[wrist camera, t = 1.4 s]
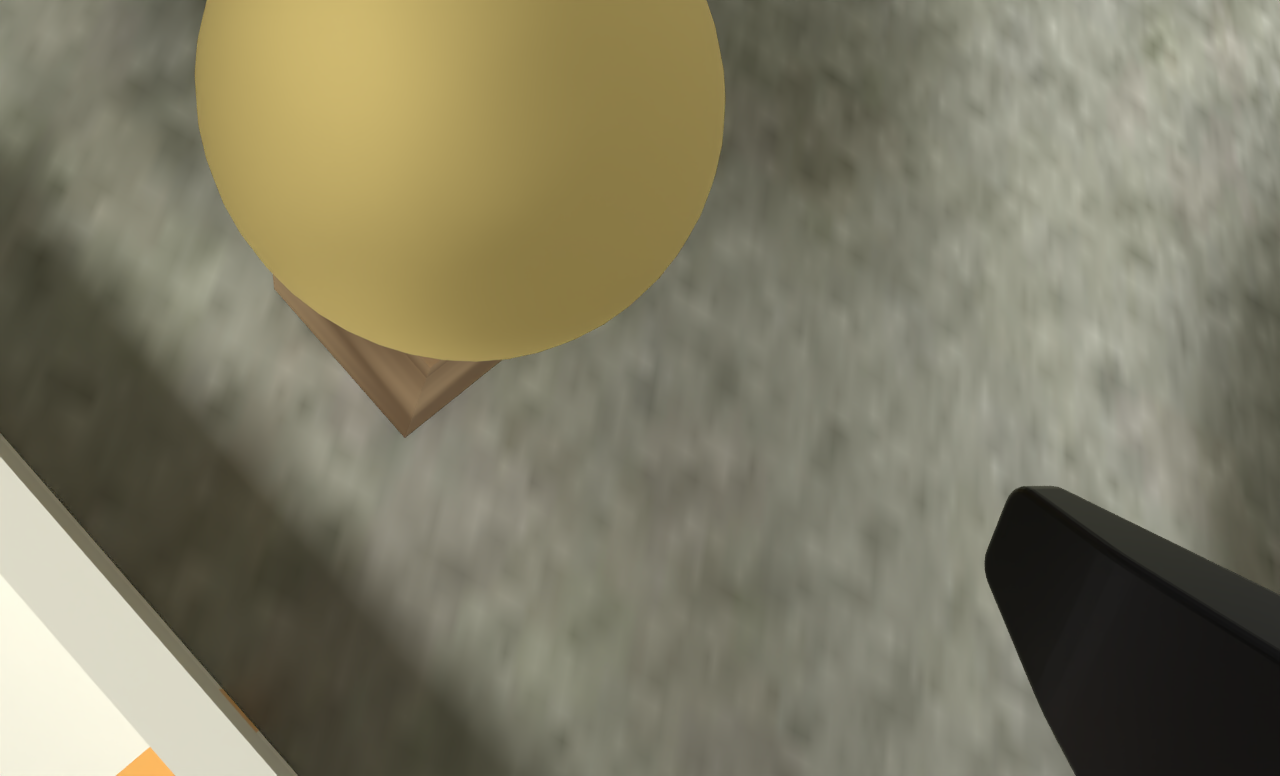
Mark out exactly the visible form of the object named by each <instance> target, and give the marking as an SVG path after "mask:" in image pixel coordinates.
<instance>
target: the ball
mask: <svg viewBox="0 0 1280 776" xmlns="http://www.w3.org/2000/svg"><path fill="white" fill-rule="evenodd" d="M195 87H196V101H197V114H198V126H199V130H200V134H201V138H202V143H203V147H204V151H205V155H206V159H207V162H208V165H209V167H210V170H211V173H212V175H213V178H214V180H215V183H216V186H217V188H218V191H219V193H220V196H221V198H222V201H223V203H224V205H225V207H226V209H227V210H228V212H229V214H230V216H231V218H232V219H233V221H234V223H235V225H236V226H237V228H238V230H239V232H240V233H241V235H242V236H243V237H244V239H245V240H246V241H247V243H248V244H249V245H250V246H251V248H252V249H253V250H254V252H255V253H256V254H257V256H258V257H259V258H260V260H261V261H262V262H263V263H264V265H265V266H266V267H267V268H268V269H269V270H270V271H271V272H272V273H273V274H274V276H275V277H276V278H277V279H278V280H279V281H280V282H281V283H282V284H283V285H284V286H285V287H286V288H287V289H288V290H289V291H290V292H291V293H292V294H294V295H295V296H296V297H298V298H299V299H300V300H301V301H303V302H304V303H305V304H307V305H308V306H309V307H311V308H312V309H313V310H314V311H316V312H317V313H318V314H320V315H321V316H323V317H325V318H326V319H328V320H330V321H331V322H333V323H335V324H337V325H338V326H340V327H342V328H343V329H345V330H347V331H348V332H351V333H353V334H355V335H358V336H360V337H362V338H364V339H367V340H369V341H371V342H374V343H376V344H378V345H381V346H384V347H388V348H391V349H394V350H398V351H401V352H404V353H408V354H411V355H417V356H423V357H428V358H434V359H440V360H452V361H474V362H477V361H490V360H502V359H510V358H515V357H520V356H525V355H529V354H534V353H539V352H541V351H544V350H547V349H550V348H553V347H555V346H558V345H561V344H564V343H567V342H569V341H572V340H574V339H577V338H578V337H580V336H582V335H584V334H586V333H588V332H590V331H592V330H594V329H596V328H598V327H600V326H602V325H604V324H605V323H606V322H608V321H609V320H611V319H612V318H613V317H615V316H616V315H618V314H619V313H620V312H622V311H623V310H625V309H626V308H628V307H629V306H630V305H631V304H632V303H633V302H634V301H635V300H637V299H638V298H639V297H640V296H641V295H642V294H643V293H644V292H645V291H646V290H647V289H648V288H649V287H650V286H651V285H652V284H653V283H654V282H656V281H657V280H658V279H659V278H660V276H661V275H662V274H663V273H664V271H665V270H666V269H667V268H668V266H669V265H670V264H671V262H672V261H673V260H674V259H675V257H676V256H677V255H678V253H679V252H680V250H681V248H682V247H683V245H684V244H685V242H686V240H687V239H688V237H689V235H690V233H691V232H692V230H693V228H694V226H695V224H696V223H697V221H698V219H699V217H700V216H701V213H702V210H703V208H704V205H705V203H706V200H707V197H708V195H709V192H710V189H711V186H712V183H713V180H714V177H715V174H716V170H717V166H718V161H719V157H720V152H721V148H722V141H723V128H724V114H725V83H724V69H723V64H722V59H721V53H720V48H719V43H718V38H717V33H716V28H715V24H714V21H713V18H712V15H711V12H710V9H709V6H708V3H707V0H207V2H206V6H205V10H204V14H203V18H202V22H201V27H200V31H199V36H198V41H197V51H196V64H195Z"/></svg>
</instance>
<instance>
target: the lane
mask: <svg viewBox="0 0 1280 776" xmlns="http://www.w3.org/2000/svg"><path fill="white" fill-rule="evenodd" d="M0 776H298V775H297V774H296V773H295V771H294V770H293V769H292V768H291V767H290V766H289V765H288V763H287V762H286V761H285V760H284V759H283V758H282V757H281V755H280V754H279V753H278V752H277V751H276V750H275V748H274V747H273V746H272V745H271V744H270V743H269V742H268V740H267V739H266V738H265V737H264V736H263V735H262V734H261V732H260V731H259V730H258V729H257V728H256V727H255V725H254V724H253V723H252V722H251V721H250V720H249V719H248V717H247V716H246V715H245V714H244V713H243V712H242V711H241V709H240V708H239V707H238V706H237V705H236V704H235V702H234V701H233V700H232V699H231V698H230V697H229V696H228V694H227V693H226V692H225V691H224V690H223V689H222V688H221V686H220V685H219V684H218V683H217V682H216V681H215V679H214V678H213V677H212V676H211V675H210V674H209V673H208V671H207V670H206V669H205V668H204V667H203V666H202V665H201V663H200V662H199V661H198V660H197V659H196V658H195V656H194V655H193V654H192V653H191V652H190V651H189V650H188V648H187V647H186V646H185V645H184V644H183V643H182V642H181V640H180V639H179V638H178V637H177V636H176V635H175V633H174V632H173V631H172V630H171V629H170V628H169V627H168V625H167V624H166V623H165V622H164V621H163V620H162V618H161V617H160V616H159V615H158V614H157V613H156V612H155V610H154V609H153V608H152V607H151V606H150V605H149V604H148V602H147V601H146V600H145V599H144V598H143V597H142V595H141V594H140V593H139V592H138V591H137V590H136V589H135V587H134V586H133V585H132V584H131V583H130V582H129V581H128V579H127V578H126V577H125V576H124V575H123V574H122V572H121V571H120V570H119V569H118V568H117V567H116V566H115V564H114V563H113V562H112V561H111V560H110V559H109V558H108V556H107V555H106V554H105V553H104V552H103V551H102V549H101V548H100V547H99V546H98V545H97V544H96V543H95V541H94V540H93V539H92V538H91V537H90V536H89V535H88V533H87V532H86V531H85V530H84V529H83V528H82V526H81V525H80V524H79V523H78V522H77V521H76V520H75V518H74V517H73V516H72V515H71V514H70V513H69V512H68V510H67V509H66V508H65V507H64V506H63V505H62V503H61V502H60V501H59V500H58V499H57V498H56V497H55V495H54V494H53V493H52V492H51V491H50V490H49V489H48V487H47V486H46V485H45V484H44V483H43V482H42V480H41V479H40V478H39V477H38V476H37V475H36V474H35V472H34V471H33V470H32V469H31V468H30V467H29V465H28V464H27V463H26V462H25V461H24V460H23V459H22V457H21V456H20V455H19V454H18V453H17V452H16V451H15V449H14V448H13V447H12V446H11V445H10V444H9V442H8V441H7V440H6V439H5V438H4V437H3V436H2V434H1V433H0Z"/></svg>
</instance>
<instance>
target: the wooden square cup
mask: <svg viewBox="0 0 1280 776" xmlns="http://www.w3.org/2000/svg"><path fill="white" fill-rule="evenodd" d="M273 280H274V289H275V290H276V291H277V292H278V293H279V295H280V296H281V297H282V298H283V299H284V300H285V301H286V303H287V304H288V305H289V306H290V307H291V308H292V309H293V311H294V312H295V313H296V314H297V315H298V316H299V317H300V319H301V320H302V321H303V322H304V323H305V324H306V325H307V327H308V328H309V329H310V330H311V331H312V332H313V333H314V335H315V336H316V337H317V338H318V339H319V340H320V341H321V343H322V344H323V345H324V346H325V347H326V348H327V350H328V351H329V352H330V353H331V354H332V355H333V356H334V358H335V359H336V360H337V361H338V362H339V363H340V364H341V366H342V367H343V368H344V369H345V370H346V371H347V372H348V374H349V375H350V376H351V377H352V378H353V379H354V380H355V382H356V383H357V384H358V385H359V386H360V387H361V388H362V390H363V391H364V392H365V393H366V394H367V395H368V396H369V398H370V399H371V400H372V401H373V402H374V403H375V404H376V406H377V407H378V408H379V409H380V410H381V411H382V412H383V414H384V415H385V416H386V417H387V418H388V419H389V420H390V422H391V423H392V424H393V425H394V426H395V427H396V428H397V430H398V431H399V432H400V433H401V434H402V435H403V436H404V438H405V437H407V436H408V435H409V434H410V433H412V432H413V431H414V430H415V429H417V428H418V427H419V426H420V425H421V424H423V423H424V422H425V421H426V420H428V419H429V418H430V417H431V416H433V415H434V414H435V413H436V412H438V411H439V410H440V409H441V408H443V407H444V406H445V405H446V404H448V403H449V402H450V401H451V400H453V399H454V398H455V397H456V396H458V395H459V394H460V393H461V392H463V391H464V390H465V389H466V388H468V387H469V386H470V385H471V384H473V383H474V382H475V381H476V380H478V379H479V378H480V377H481V376H483V375H484V374H485V373H486V372H488V371H489V370H490V369H491V368H493V367H494V366H495V365H496V364H498V363H499V362H500V361H501V360H490V361H477V362H474V361H452V360H440V359H434V358H428V357H423V356H417V355H411V354H408V353H404V352H401V351H398V350H394V349H391V348H388V347H384V346H381V345H378V344H376V343H374V342H371V341H369V340H367V339H364V338H362V337H360V336H358V335H355V334H353V333H351V332H348V331H347V330H345V329H343V328H342V327H340V326H338V325H337V324H335V323H333V322H331V321H330V320H328V319H326V318H325V317H323V316H321V315H320V314H318V313H317V312H316V311H314V310H313V309H312V308H311V307H309V306H308V305H307V304H305V303H304V302H303V301H301V300H300V299H299V298H298V297H296V296H295V295H294V294H292V293H291V292H290V291H289V290H288V289H287V288H286V287H285V286H284V285H283V284H282V283H281V282H280V281H279V280H278V279H277V278H276V277H275V276H274V274H273ZM502 360H503V359H502Z"/></svg>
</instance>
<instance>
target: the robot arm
mask: <svg viewBox="0 0 1280 776" xmlns="http://www.w3.org/2000/svg"><path fill="white" fill-rule="evenodd" d="M985 573H986V578H987V581H988V584H989V586H990V588H991V591H992V593H993V596H994V598H995V600H996V603H997V605H998V608H999V610H1000V612H1001V615H1002V617H1003V620H1004V622H1005V624H1006V627H1007V629H1008V632H1009V634H1010V636H1011V639H1012V641H1013V644H1014V646H1015V648H1016V651H1017V653H1018V656H1019V658H1020V660H1021V663H1022V665H1023V668H1024V670H1025V672H1026V675H1027V677H1028V680H1029V682H1030V684H1031V687H1032V689H1033V692H1034V694H1035V696H1036V698H1037V701H1038V703H1039V705H1040V707H1041V710H1042V712H1043V714H1044V716H1045V718H1046V720H1047V722H1048V724H1049V726H1050V728H1051V730H1052V732H1053V734H1054V736H1055V738H1056V740H1057V742H1058V744H1059V745H1060V747H1061V749H1062V751H1063V753H1064V755H1065V757H1066V758H1067V760H1068V762H1069V764H1070V766H1071V768H1072V770H1073V772H1074V773H1075V775H1076V776H1280V595H1279V594H1277V593H1275V592H1272V591H1270V590H1268V589H1266V588H1264V587H1262V586H1260V585H1258V584H1256V583H1254V582H1252V581H1250V580H1248V579H1246V578H1244V577H1242V576H1240V575H1238V574H1236V573H1234V572H1232V571H1230V570H1228V569H1226V568H1223V567H1221V566H1219V565H1217V564H1215V563H1213V562H1211V561H1209V560H1207V559H1205V558H1203V557H1201V556H1199V555H1197V554H1195V553H1193V552H1191V551H1189V550H1187V549H1185V548H1183V547H1181V546H1179V545H1177V544H1174V543H1172V542H1170V541H1168V540H1166V539H1164V538H1162V537H1160V536H1158V535H1156V534H1154V533H1152V532H1150V531H1148V530H1146V529H1144V528H1142V527H1140V526H1138V525H1136V524H1134V523H1132V522H1130V521H1128V520H1125V519H1123V518H1121V517H1119V516H1117V515H1115V514H1113V513H1111V512H1109V511H1107V510H1105V509H1103V508H1101V507H1099V506H1097V505H1095V504H1093V503H1091V502H1089V501H1087V500H1085V499H1083V498H1081V497H1079V496H1077V495H1074V494H1072V493H1070V492H1068V491H1066V490H1064V489H1062V488H1059V487H1055V486H1022V487H1019V488H1017V489H1015V490H1014V491H1013V492H1012V493H1011V494H1010V495H1009V497H1008V499H1007V501H1006V503H1005V506H1004V508H1003V511H1002V513H1001V516H1000V518H999V521H998V523H997V526H996V528H995V531H994V533H993V536H992V539H991V541H990V544H989V546H988V549H987V552H986V555H985Z"/></svg>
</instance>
